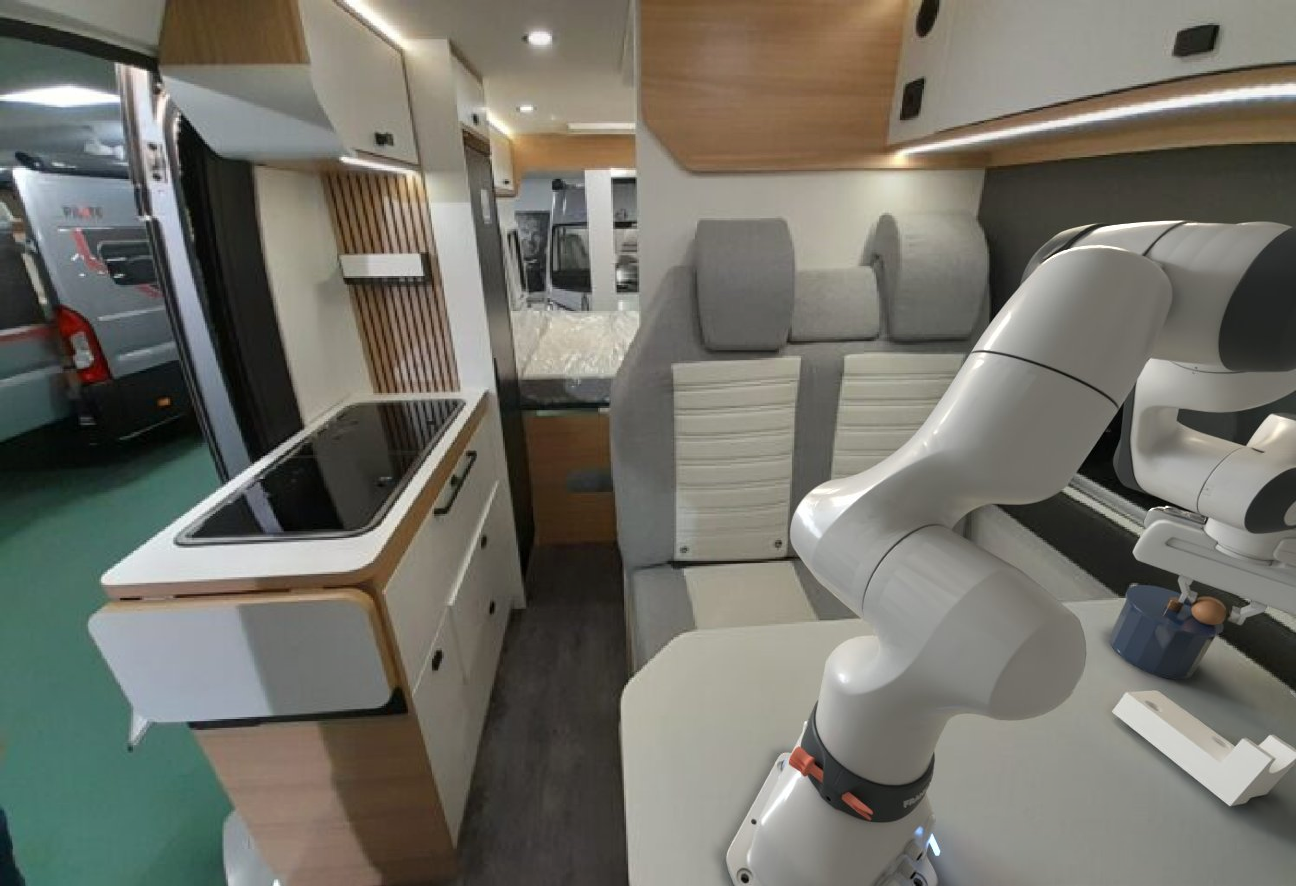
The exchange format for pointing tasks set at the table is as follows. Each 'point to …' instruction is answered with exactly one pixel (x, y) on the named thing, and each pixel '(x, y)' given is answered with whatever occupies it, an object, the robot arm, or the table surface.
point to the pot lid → (1168, 611)
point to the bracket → (1207, 748)
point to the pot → (1156, 645)
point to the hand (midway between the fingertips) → (1208, 611)
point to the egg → (1209, 610)
